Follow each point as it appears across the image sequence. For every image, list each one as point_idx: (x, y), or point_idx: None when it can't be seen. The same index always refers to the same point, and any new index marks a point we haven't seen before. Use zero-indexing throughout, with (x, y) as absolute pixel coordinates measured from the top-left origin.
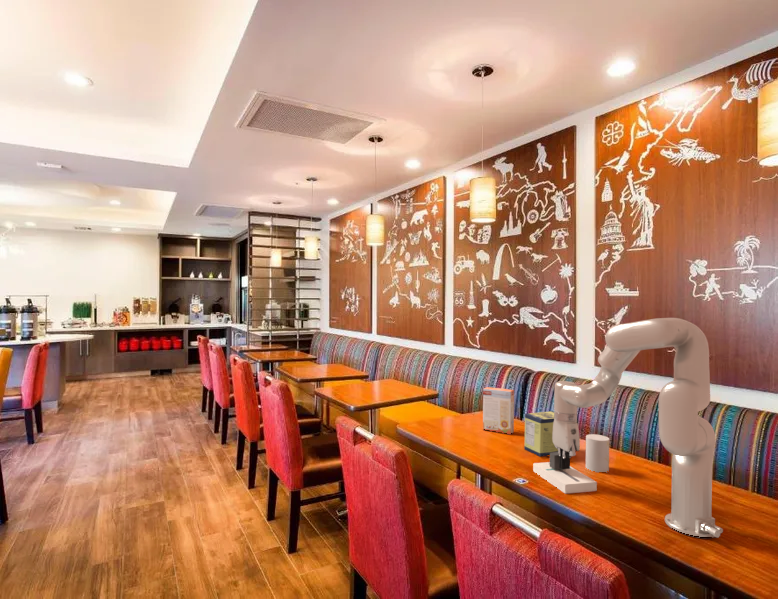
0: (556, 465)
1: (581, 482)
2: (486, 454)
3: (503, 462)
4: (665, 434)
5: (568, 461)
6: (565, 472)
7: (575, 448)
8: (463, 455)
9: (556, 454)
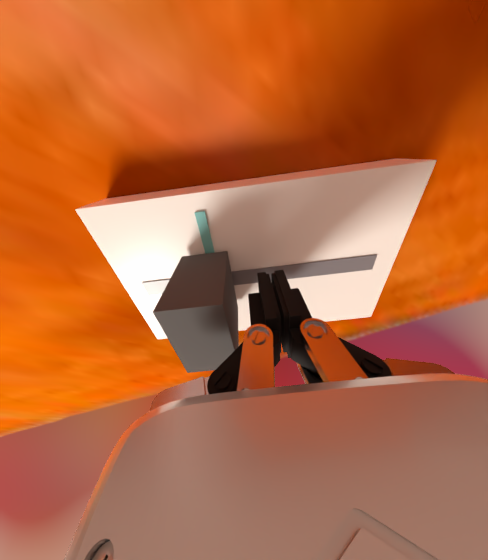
0: (236, 311)
1: (389, 253)
2: (51, 376)
3: (107, 359)
4: None
5: (306, 311)
6: (266, 270)
7: (446, 408)
8: (89, 404)
9: (220, 356)
